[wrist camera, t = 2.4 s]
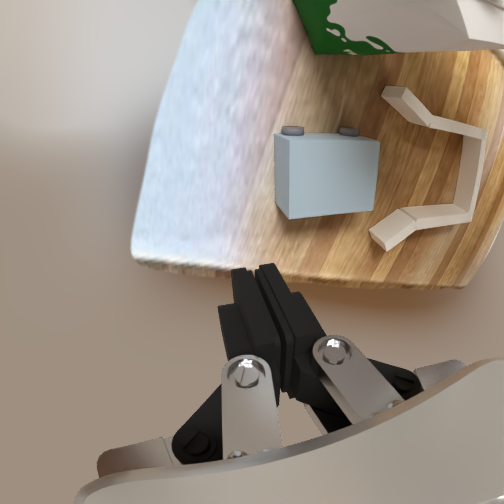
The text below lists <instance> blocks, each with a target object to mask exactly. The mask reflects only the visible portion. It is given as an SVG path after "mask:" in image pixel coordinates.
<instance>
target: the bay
mask: <svg viewBox="0 0 504 504" xmlns="http://www.w3.org/2000/svg"><path fill="white" fill-rule="evenodd" d="M381 97H382V98H383V99H385V100H386V101H387V102H388V103H389V104H390V105H391V106H392V107H393V108H394V109H396V110H397V111H398V112H399V113H400V114H401V115H402V116H403V117H404V118H405V119H406V120H407V121H408V122H410V123H414V124H418V125H422V126H425V127H429V128H434V129H439V130H444V131H449V132H453V133H458V134H462V135H464V136H463V146H462V154H461V161H460V168H459V174H458V180H457V185H456V191H455V196H454V200H453V204H439V205H425V206H412V207H400V210H399V209H396V210H395V211H394V212H392V213H391V214H389V215H388V216H387V217H385V218H384V219H383V220H381V221H380V222H378V223H377V224H376V225H374V226H373V227H371V228H370V229H369V232H370V235H371V238H372V239H373V240H374V241H376V242H377V243H378V244H379V245H380V246H381V247H382V248H383V249H384V250H385V251H386V252H388V251H389V250H390V249H392V248H393V247H394V246H396V245H397V244H398V243H400V242H401V241H402V240H404V239H405V238H406V237H408V236H409V235H410V234H411V233H413V232H414V231H415V230H420V229H427V228H433V227H440V226H447V225H453V224H460V223H466V222H471V221H472V217H473V213H474V209H475V205H476V201H477V196H478V191H479V187H480V181H481V176H482V170H483V164H484V158H485V150H486V142H487V132H488V131H487V130H484V129H481V128H478V127H475V126H471V125H468V124H465V123H461V122H458V121H454V120H450V119H446V118H442V117H438V116H434V115H432V114H431V113H430V112H429V111H428V110H427V108H426V107H425V106H424V105H423V104H422V103H421V102H420V101H419V100H418V99H417V97H416V96H415V95H414V94H413V93H412V92H411V91H410V90H409V89H408V88H407V87H398V86H385V88H384V90H383V92H382V94H381Z"/></svg>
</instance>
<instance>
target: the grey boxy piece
mask: <svg viewBox="0 0 504 504" xmlns="http://www.w3.org/2000/svg"><path fill="white" fill-rule="evenodd" d="M379 153H380V141H377V140H374V139H371V138H367V137H364V136H361V135H359V129H356V128H349V127H339V133H304V127H298V126H284V127H282V133H280V134H274V162H275V203H276V204H277V205H278V207H279V208H280V209H281V210H282V212H283V213H284V214H285V215H286V217H287V218H288V219H297V218H306V217H315V216H324V215H333V214H343V213H352V212H363V211H373V207H374V199H375V192H376V183H377V174H378V164H379Z"/></svg>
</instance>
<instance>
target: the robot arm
mask: <svg viewBox="0 0 504 504" xmlns="http://www.w3.org/2000/svg"><path fill="white" fill-rule="evenodd" d="M231 277H232V287H233V296H234V303H233V304H227V305H221V306H218V313H219V319H220V325H221V330H222V336H223V340H224V345H225V349H226V354H227V358H228V362H227V363H226V364H225V366H224V367H223V370H222V383H221V385H220V386H219V387H218V388H217V389H216V390H215V391H214V393H212V395H211V396H210V397H209V398H208V399H207V400H206V401H205V402H204V403H203V404H202V406H201V407H200V408H199V409H198V410H197V411H196V412H195V413H194V414H193V415H192V416H191V417H190V419H189V420H188V421H187V422H186V423H185V424H184V425H183V426H182V427H181V428H180V429H179V430H178V431H177V432H176V434H175V435H174V436H172V437H169V438H165V439H163V438H162V437H160V438H156V439H152V440H149V441H145V442H141V443H137V444H133V445H128V446H124V447H120V448H115V449H110V450H107V451H105V452H103V453H102V454H101V455H100V456H99V458H98V461H97V471H98V475H99V479H96V480H94V481H92V482H90V483H88V484H86V485H85V486H83V487H82V488H81V489H80V490H79V491H78V492H77V494H76V496H75V498H74V501H73V504H504V358H490V359H484V360H480V361H477V362H475V363H472V364H470V365H468V366H466V365H465V364H464V363H463V362H461V361H458V360H449V361H445V362H441V363H438V364H434V365H430V366H425V367H421V368H417V369H415V370H414V372H411V371H409V370H406V369H403V368H399V367H396V366H392V365H389V364H385V363H382V362H378V361H375V360H372V359H368V358H366V357H365V356H364V355H363V354H362V352H361V351H360V350H359V349H358V348H357V347H356V346H355V345H354V343H352V342H351V341H350V340H349V339H347V338H345V337H342V336H338V335H329V336H326V334H325V332H324V330H323V329H322V327H321V326H320V324H319V322H318V320H317V319H316V317H315V316H314V314H313V312H312V311H311V309H310V307H309V306H308V304H307V302H306V301H305V299H304V297H303V296H302V294H301V293H300V292H293V293H291V292H290V290H289V288H288V287H287V285H286V283H285V281H284V279H283V278H282V276H281V274H280V272H279V271H278V269H277V267H276V265H275V264H274V263H270V264H264V265H260V266H259V269H256V270H255V278H254V275H253V273H252V271H251V270H250V271H247V270H246V268H239V269H232V270H231ZM280 389H281V391H282V392H287V393H288V396H289V398H290V399H291V398H296V400H298V401H300V402H302V403H304V407H305V409H306V410H307V412H308V414H309V415H310V417H311V418H312V420H313V421H314V423H315V424H316V426H317V427H318V429H319V430H320V432H321V434H322V435H323V436H320V437H317V438H314V439H310V440H308V441H304V442H301V443H297V444H294V445H290V446H287V447H283V446H282V439H281V433H280V426H279V420H278V414H277V407H278V405H279V395H280Z"/></svg>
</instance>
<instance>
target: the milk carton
mask: <svg viewBox="0 0 504 504" xmlns="http://www.w3.org/2000/svg"><path fill="white" fill-rule="evenodd" d="M293 1H294V3H295V5H296V8H297V10H298V12H299V15H300V17H301V19H302V22H303V24H304V27H305V29H306V32H307V34H308V37H309V39H310V42H311V45H312V48H313V50H314V53H315V55H316V54H341V55H379V54H393V53H409V52H445V51H470V50H486V49H504V0H293Z"/></svg>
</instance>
